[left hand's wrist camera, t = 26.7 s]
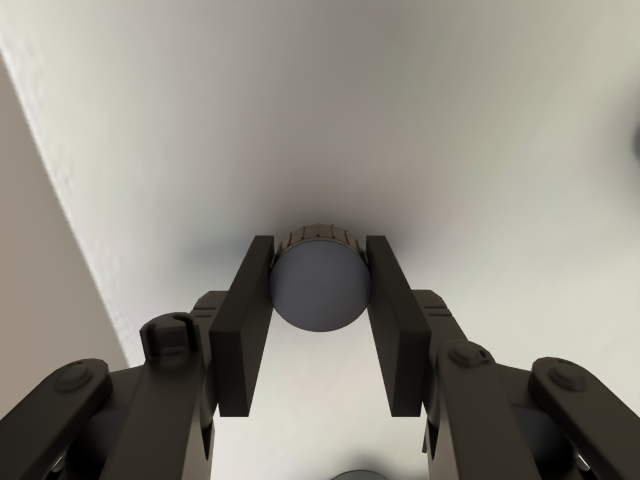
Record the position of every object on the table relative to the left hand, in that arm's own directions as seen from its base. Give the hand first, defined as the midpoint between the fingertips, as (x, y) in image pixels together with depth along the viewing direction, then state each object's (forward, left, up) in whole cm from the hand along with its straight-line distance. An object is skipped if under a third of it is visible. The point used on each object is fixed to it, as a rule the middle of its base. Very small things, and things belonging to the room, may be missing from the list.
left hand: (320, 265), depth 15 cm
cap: (0, 0, +2) cm, 2 cm away
